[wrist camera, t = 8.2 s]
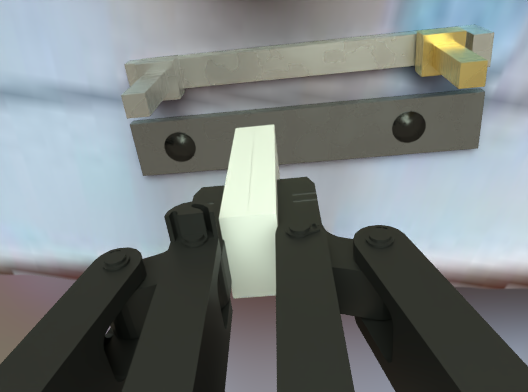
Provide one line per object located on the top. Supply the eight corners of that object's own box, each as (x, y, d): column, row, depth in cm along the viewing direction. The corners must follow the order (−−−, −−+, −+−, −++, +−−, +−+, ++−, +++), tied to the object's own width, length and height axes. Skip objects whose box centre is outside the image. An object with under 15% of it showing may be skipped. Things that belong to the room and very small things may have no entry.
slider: (414, 70, 36) (446, 100, 29) (416, 30, 35) (450, 52, 28) (454, 66, 36) (494, 96, 29) (457, 26, 35) (501, 47, 28)
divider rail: (137, 92, 40) (98, 131, 31) (128, 57, 38) (85, 88, 30) (471, 59, 37) (524, 92, 29) (475, 20, 36) (532, 43, 28)
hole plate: (146, 171, 43) (143, 176, 42) (133, 120, 41) (129, 125, 40) (473, 143, 41) (478, 148, 40) (480, 88, 38) (485, 92, 37)
